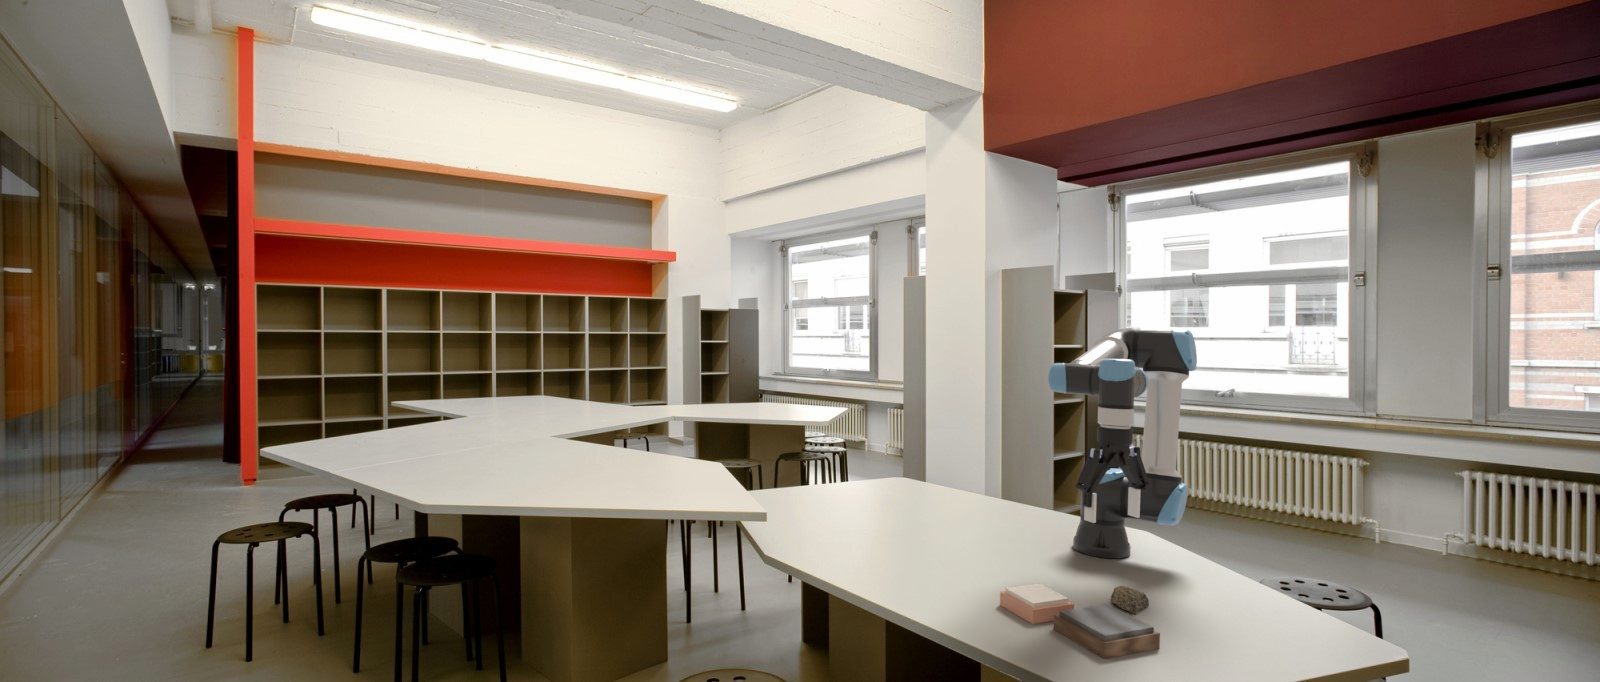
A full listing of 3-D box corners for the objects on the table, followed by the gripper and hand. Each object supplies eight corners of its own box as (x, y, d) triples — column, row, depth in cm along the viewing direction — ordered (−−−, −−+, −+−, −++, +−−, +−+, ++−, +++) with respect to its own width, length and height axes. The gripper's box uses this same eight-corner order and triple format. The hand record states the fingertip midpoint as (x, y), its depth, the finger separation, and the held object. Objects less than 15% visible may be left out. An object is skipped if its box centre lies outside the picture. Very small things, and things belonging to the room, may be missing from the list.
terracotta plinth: (1039, 599, 165) (1039, 581, 165) (1073, 617, 155) (1074, 599, 155) (1000, 604, 161) (1000, 587, 161) (1032, 624, 151) (1033, 605, 151)
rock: (1103, 606, 162) (1103, 586, 162) (1118, 598, 167) (1119, 579, 167) (1135, 616, 157) (1135, 595, 157) (1149, 607, 162) (1150, 587, 162)
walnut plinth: (1105, 620, 154) (1105, 602, 153) (1159, 648, 140) (1160, 628, 140) (1053, 629, 148) (1054, 610, 148) (1104, 658, 135) (1105, 637, 135)
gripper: (1140, 422, 171) (1137, 510, 171) (1061, 425, 161) (1058, 519, 161) (1167, 426, 164) (1164, 518, 165) (1086, 430, 154) (1083, 527, 154)
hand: (1112, 518), depth 163 cm, fingers open, 13 cm apart
